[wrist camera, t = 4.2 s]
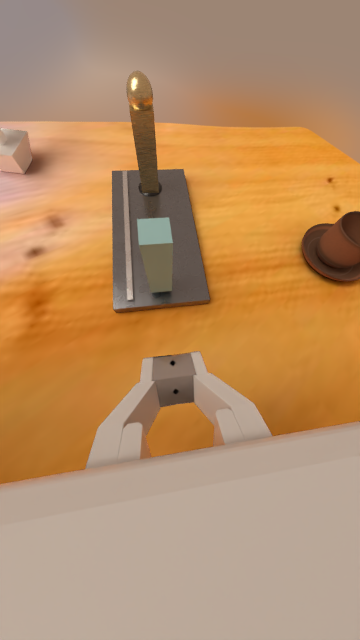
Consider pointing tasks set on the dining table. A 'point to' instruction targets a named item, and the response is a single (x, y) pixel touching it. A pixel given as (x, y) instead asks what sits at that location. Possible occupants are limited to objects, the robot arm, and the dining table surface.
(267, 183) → the dining table surface
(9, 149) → the figurine
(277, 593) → the robot arm
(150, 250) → the block
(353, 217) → the cup and saucer
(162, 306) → the bolt-hole plate
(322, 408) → the dining table surface
